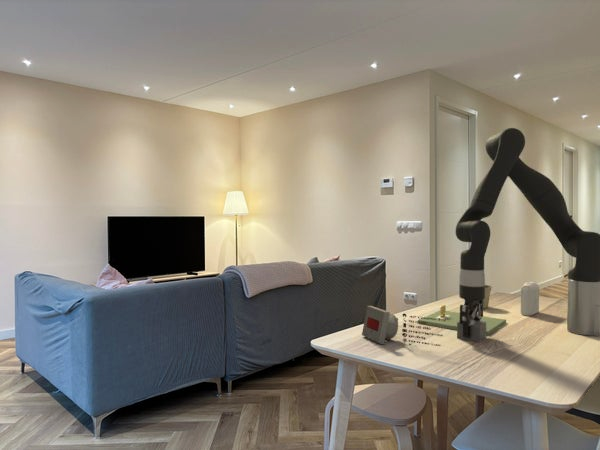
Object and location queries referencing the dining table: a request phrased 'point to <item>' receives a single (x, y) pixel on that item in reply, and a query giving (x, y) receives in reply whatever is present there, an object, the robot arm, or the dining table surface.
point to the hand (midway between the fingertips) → (471, 334)
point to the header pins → (442, 311)
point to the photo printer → (529, 298)
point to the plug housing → (473, 331)
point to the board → (455, 317)
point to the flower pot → (486, 296)
